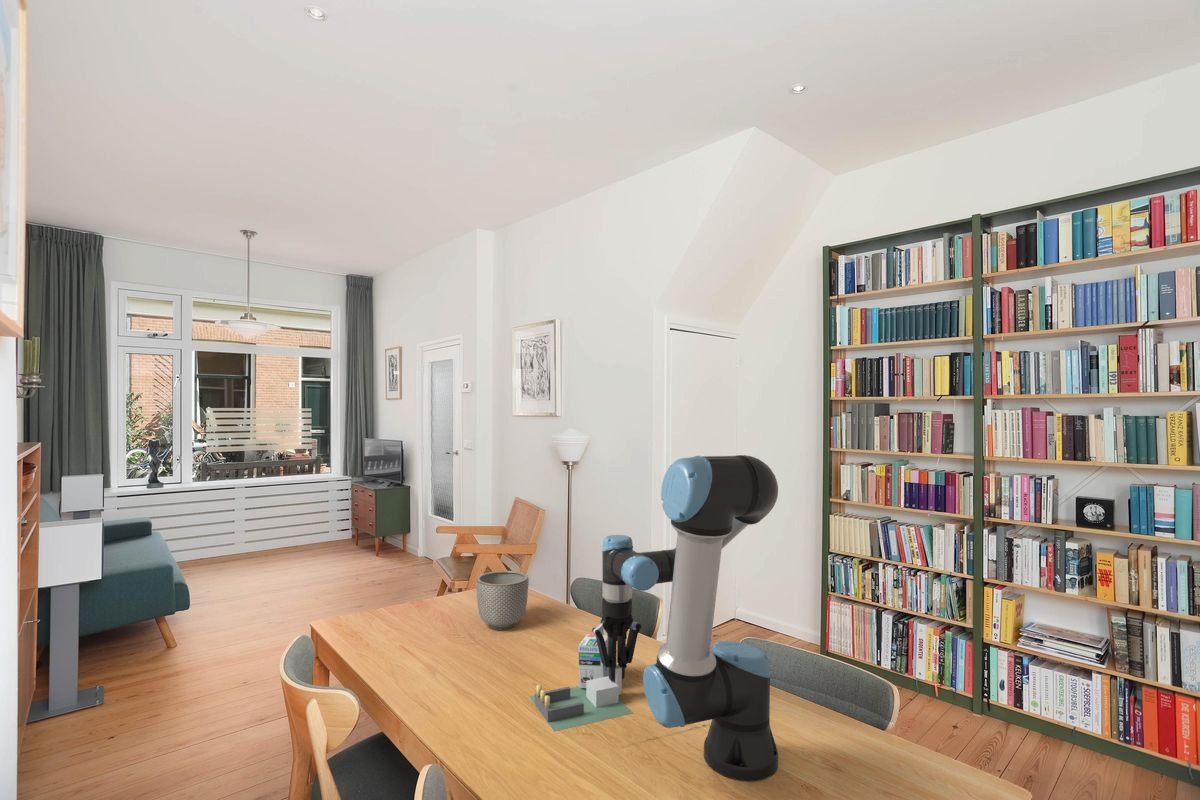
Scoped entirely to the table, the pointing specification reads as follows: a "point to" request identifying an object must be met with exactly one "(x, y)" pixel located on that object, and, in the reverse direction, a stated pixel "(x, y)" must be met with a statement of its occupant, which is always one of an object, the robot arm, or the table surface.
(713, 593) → the robot arm
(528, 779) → the table surface
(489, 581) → the planter
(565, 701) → the header board
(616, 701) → the plug
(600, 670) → the light bulb box
